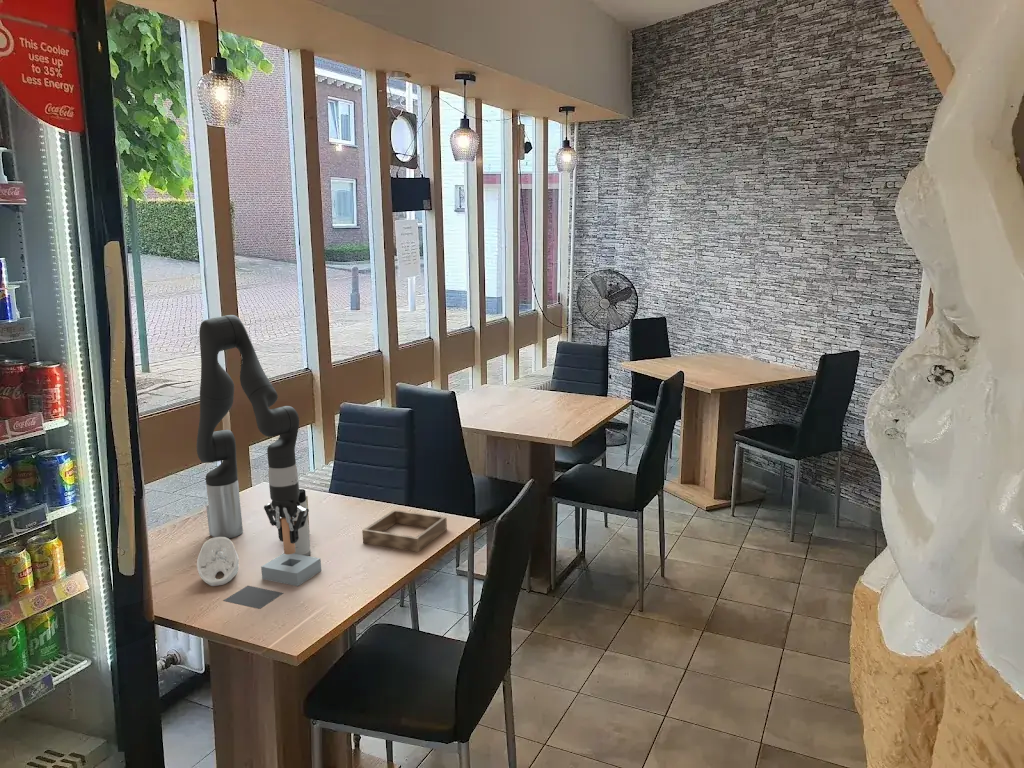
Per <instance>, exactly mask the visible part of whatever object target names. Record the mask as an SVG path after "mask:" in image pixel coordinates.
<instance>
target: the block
mask: <svg viewBox="0 0 1024 768" xmlns="http://www.w3.org/2000/svg"><path fill="white" fill-rule="evenodd" d="M260 568H261V579H262V580H264V581H265V580H266V581H269V582H275V583H280V584H285V585H289V586H294V587H295V586H296V587H299V586H300V585H303V583H305V582H307V581H308V580H310V579H311V578H312V577H315V576H316V575H317V574H319V573H320V572H321V571H322V562H321V558H320V557H315V556H310V555H309V556H304V555H299V554H284V552H283V553H281V554H280V555H278V556H276V557H274V558H273V559H271V560H270V561H268V562H266V563H265V564H263V565H261V566H260Z"/></svg>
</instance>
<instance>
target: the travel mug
mask: <svg viewBox="0 0 1024 768" xmlns="http://www.w3.org/2000/svg"><path fill="white" fill-rule="evenodd" d="M306 496H307V494H306V489H304V488H299V498H298V501H299V503H300V506H301V507H302V508H304V509H305V508H307V503H306ZM297 513H298V511H297ZM293 525H294V522H293ZM298 536H299V539H298V541H297V542H296V543H295V551H296V552H295V553H293V554H299V555H304V556H310V555H311V554H312V552H311V542H310V541H311V540H310V526H309V527H308V515H307V518H306V521H305V525H304V526H303V527H301V528H300V529H298Z"/></svg>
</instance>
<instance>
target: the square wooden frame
mask: <svg viewBox="0 0 1024 768" xmlns="http://www.w3.org/2000/svg"><path fill="white" fill-rule="evenodd" d="M395 524H401V525H408V526H415V527H418V528H419V527H420V528H426V529H425V530H424V531H422V532H421V533H420V534H418V535H417V536H410V535H405V534H398V533H391V532H386V531H387V529H389V528H391V527H392V526H394V525H395ZM447 529H448V523H447V516H441V515H440V516H439V515H434V514H433V515H432V514H426V513H421V512H413V511H406V510H400V509H399V510H398V509H393V510H392V511H390V512H389V513H387V514H386V515H384V516H382V517H381V518H379V519H377V520H376V521H374V522H373V523H371V524H369V525H368V526H367V527H365V528H364V529H362V531H361V532H362V542H363V544H369V545H375V546H379V547H380V546H381V547H388V548H393V549H398V550H399V549H400V550H405V551H410V552H416V553H418V552H420V551H421V550H422V549H424V548H425V547H427V545H429V544H430V543H431V542H432V541H434V540H435V539H436V538H438V537H439V536H440V535H442V534H443V533H444V532H445V531H447Z"/></svg>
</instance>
